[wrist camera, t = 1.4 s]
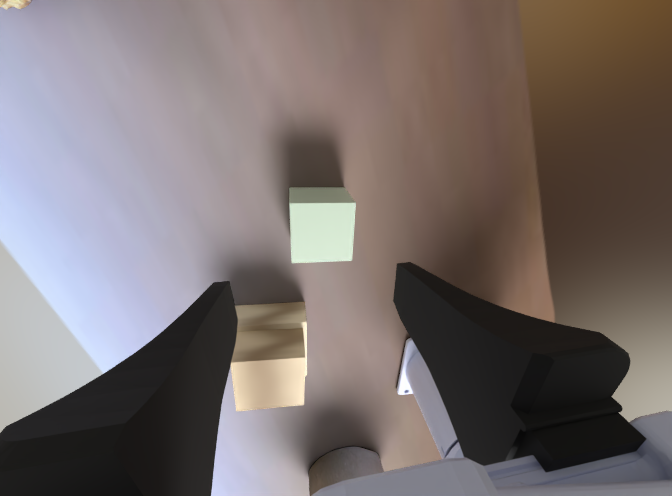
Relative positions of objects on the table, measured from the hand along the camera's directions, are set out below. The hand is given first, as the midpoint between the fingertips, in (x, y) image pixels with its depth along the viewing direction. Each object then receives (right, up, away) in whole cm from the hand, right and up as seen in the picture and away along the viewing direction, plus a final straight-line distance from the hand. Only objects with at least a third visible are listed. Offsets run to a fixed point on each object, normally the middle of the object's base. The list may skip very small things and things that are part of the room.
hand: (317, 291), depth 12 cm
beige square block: (-4, -7, +11) cm, 13 cm away
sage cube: (-1, +4, +9) cm, 10 cm away
